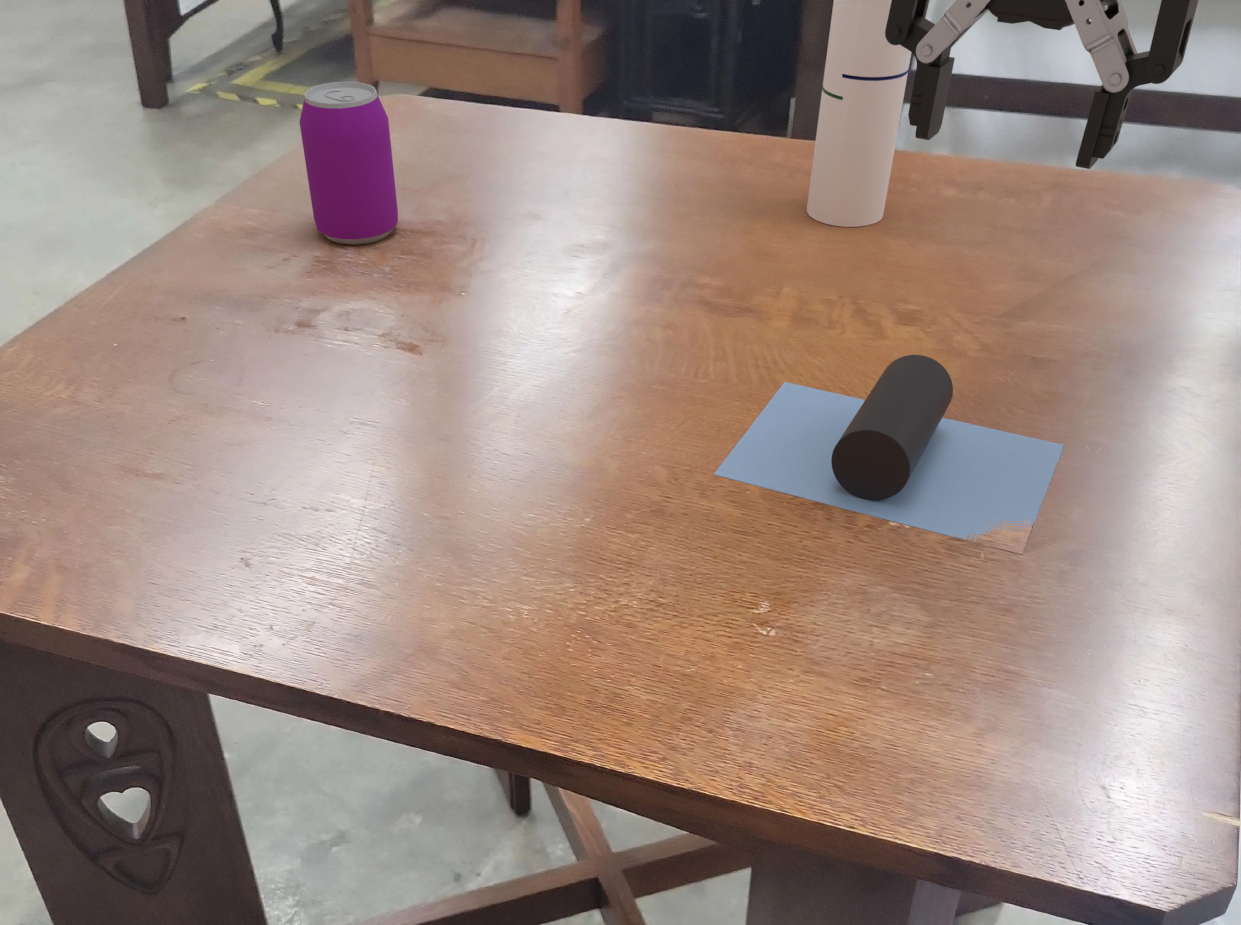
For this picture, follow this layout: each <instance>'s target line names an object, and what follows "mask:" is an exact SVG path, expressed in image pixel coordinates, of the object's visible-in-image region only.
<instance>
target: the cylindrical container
mask: <svg viewBox="0 0 1241 925" xmlns="http://www.w3.org/2000/svg"><path fill="white" fill-rule="evenodd" d="M891 1H892V0H833V3H832V10H831V11H832V12H831V19H830V26H829V32H828V33H829V35H828V41H827V42H828V43H827V51H826V57H825V65H824V72H823V80H822V89H821V95H820V104H819V110H818V118H817V125H816V126H817V127H816V135H815V142H814V151H813V157H812V164H811V173H810V181H809V189H808V195H807V204H806V213H807V215H808V216H809V217H810V218H811V219H813V220H815V221H817V222H819V223H822V224H826V225H830V226H834V227H835V226H836V227H841V228H843V227H845V228H857V227H859V228H860V227H865V226H866V227H867V226H871V225H873V224H876V223H878V222H880V221H881V220H882V219H883V218H884V213H885V207H886V201H887V196H888V190H889V183H890V179H891V172H892V169H893V168H892V167H893V160H894V155H895V151H896V150H895V149H896V144H897V138H898V133H899V127H900V120H901V115H902V111H903V110H902V109H903V105H904V98H905V92H906V85H907V80H908V75H909V74H908V73H909V68H910V63H911V57H912V52H911V51H909V50H908V49H906V48H904V47H903V46H901V45H892V44H890V43H889V42H888V41H887V39H886V37H885V30H886V25H887V20H888V15H889V11H890V6H891Z"/></svg>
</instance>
